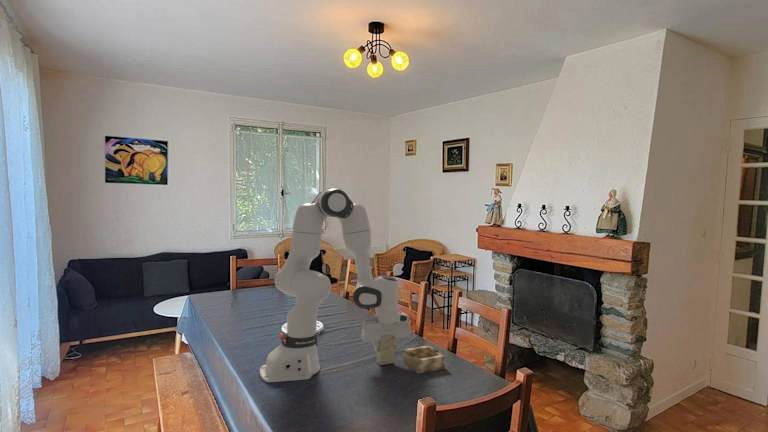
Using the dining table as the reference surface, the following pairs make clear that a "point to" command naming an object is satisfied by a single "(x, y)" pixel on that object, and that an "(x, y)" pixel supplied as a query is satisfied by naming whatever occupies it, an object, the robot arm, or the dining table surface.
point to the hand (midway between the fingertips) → (385, 350)
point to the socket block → (424, 359)
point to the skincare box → (386, 349)
